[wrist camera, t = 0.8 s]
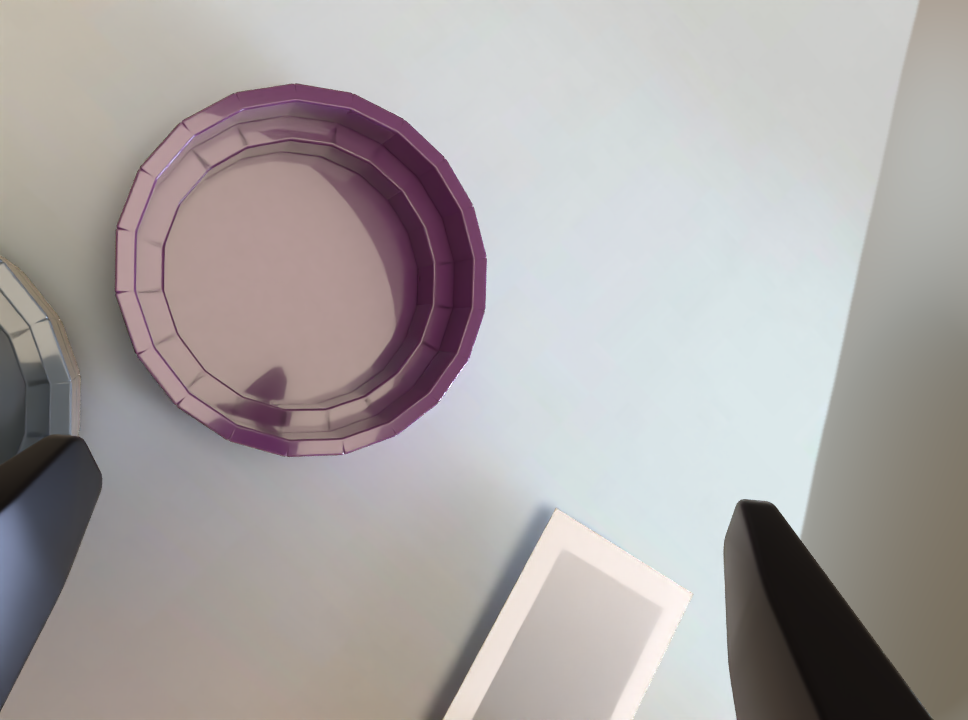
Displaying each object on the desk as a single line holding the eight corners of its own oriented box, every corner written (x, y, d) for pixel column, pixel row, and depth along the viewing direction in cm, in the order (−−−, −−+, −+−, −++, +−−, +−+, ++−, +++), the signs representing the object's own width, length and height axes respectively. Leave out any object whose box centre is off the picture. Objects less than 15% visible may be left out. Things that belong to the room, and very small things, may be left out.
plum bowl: (326, 500, 25) (353, 525, 22) (36, 305, 22) (19, 302, 18) (499, 260, 28) (545, 252, 24) (264, 47, 24) (284, 4, 21)
